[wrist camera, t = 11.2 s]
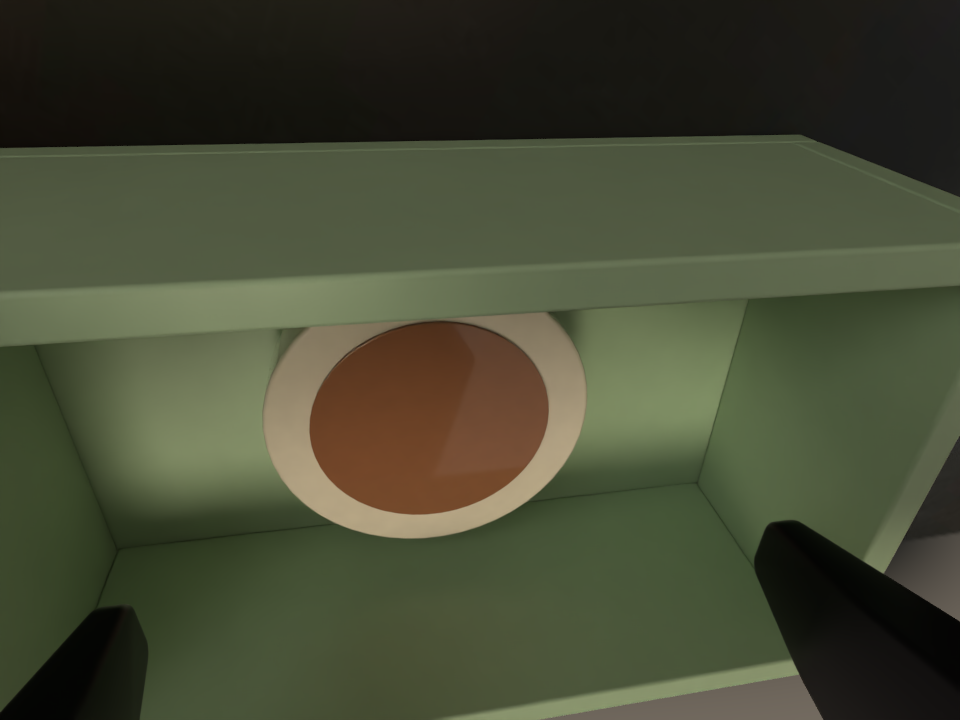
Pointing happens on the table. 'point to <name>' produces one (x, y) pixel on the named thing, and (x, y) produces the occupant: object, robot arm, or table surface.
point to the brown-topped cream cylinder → (423, 419)
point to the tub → (455, 294)
